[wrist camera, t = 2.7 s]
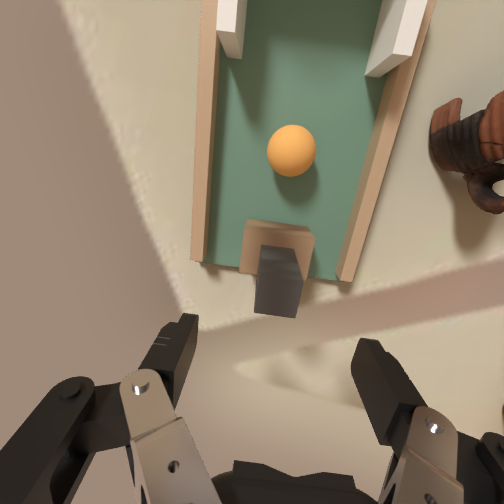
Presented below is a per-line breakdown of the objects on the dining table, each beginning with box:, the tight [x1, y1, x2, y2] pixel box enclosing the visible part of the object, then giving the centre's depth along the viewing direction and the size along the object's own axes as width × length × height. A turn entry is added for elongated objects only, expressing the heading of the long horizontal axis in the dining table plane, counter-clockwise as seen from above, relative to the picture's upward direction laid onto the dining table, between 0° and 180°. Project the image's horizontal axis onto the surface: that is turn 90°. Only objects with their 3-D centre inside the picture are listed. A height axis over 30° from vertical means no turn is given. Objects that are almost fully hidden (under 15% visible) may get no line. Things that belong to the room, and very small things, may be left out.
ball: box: [267, 125, 316, 177], centre depth 21 cm, size 4×4×4 cm
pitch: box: [190, 0, 436, 282], centre depth 21 cm, size 16×26×6 cm, turn 173°
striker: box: [239, 218, 315, 318], centre depth 21 cm, size 6×4×10 cm, turn 83°
